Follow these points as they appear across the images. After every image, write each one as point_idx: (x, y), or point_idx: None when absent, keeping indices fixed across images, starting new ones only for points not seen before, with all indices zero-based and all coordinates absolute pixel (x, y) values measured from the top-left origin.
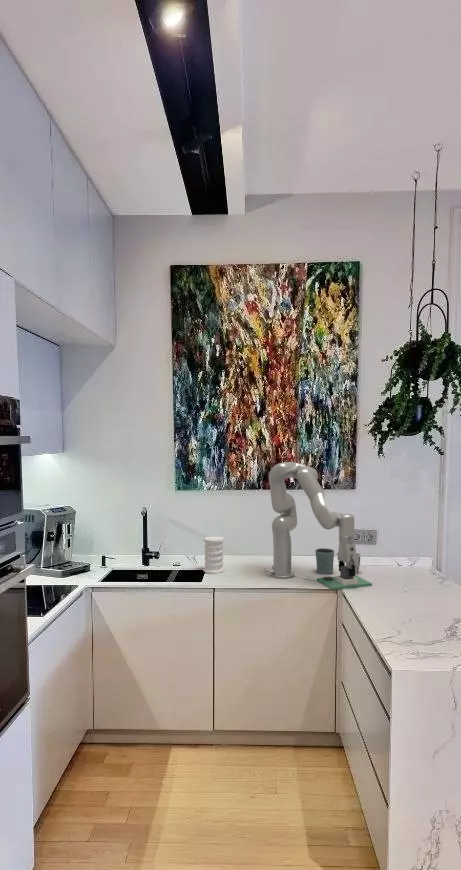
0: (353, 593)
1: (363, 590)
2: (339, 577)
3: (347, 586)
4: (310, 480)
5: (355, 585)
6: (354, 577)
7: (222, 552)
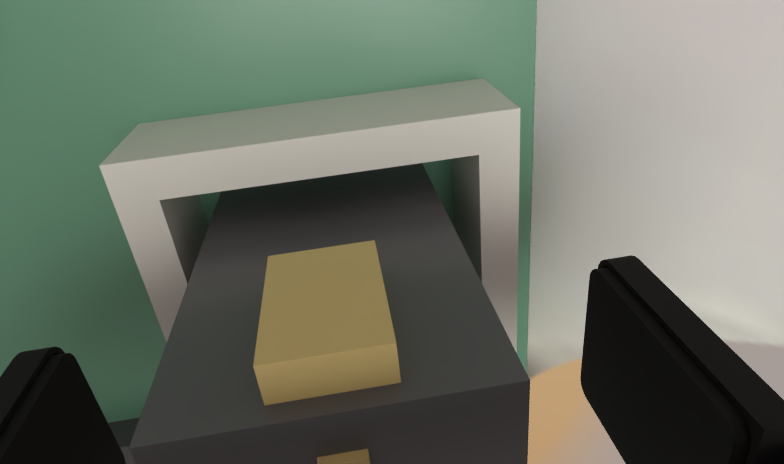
0: (741, 272)
1: (704, 64)
2: None
3: (523, 293)
4: None
5: (528, 151)
6: (385, 141)
7: None
